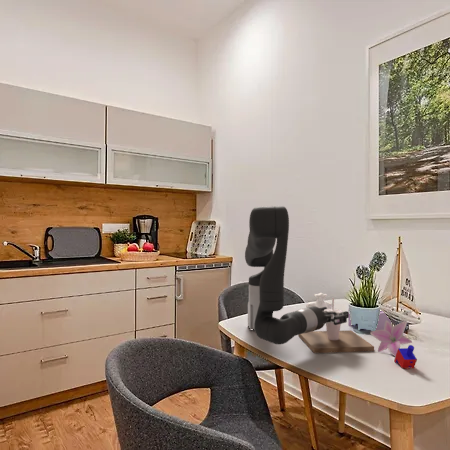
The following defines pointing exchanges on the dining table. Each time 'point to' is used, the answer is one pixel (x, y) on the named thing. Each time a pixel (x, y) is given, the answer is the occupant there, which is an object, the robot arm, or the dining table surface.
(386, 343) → the lily
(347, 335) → the walnut board
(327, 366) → the dining table surface
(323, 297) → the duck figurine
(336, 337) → the smoothie
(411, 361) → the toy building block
